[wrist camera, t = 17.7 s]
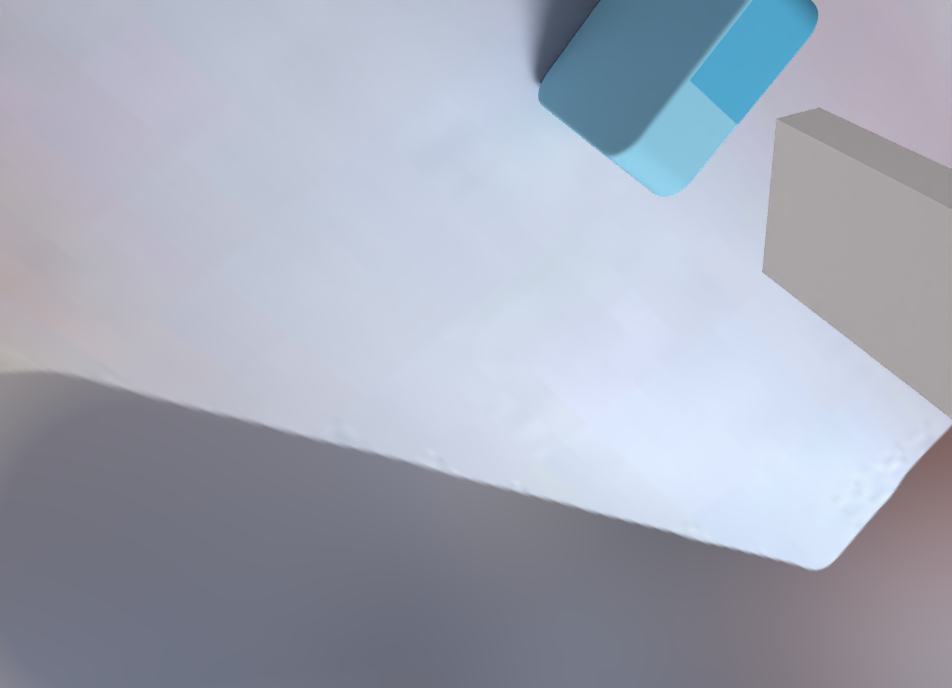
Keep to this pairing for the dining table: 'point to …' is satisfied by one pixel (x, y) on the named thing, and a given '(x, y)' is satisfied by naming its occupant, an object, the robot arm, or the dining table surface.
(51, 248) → the dining table surface
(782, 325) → the dining table surface
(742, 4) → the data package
